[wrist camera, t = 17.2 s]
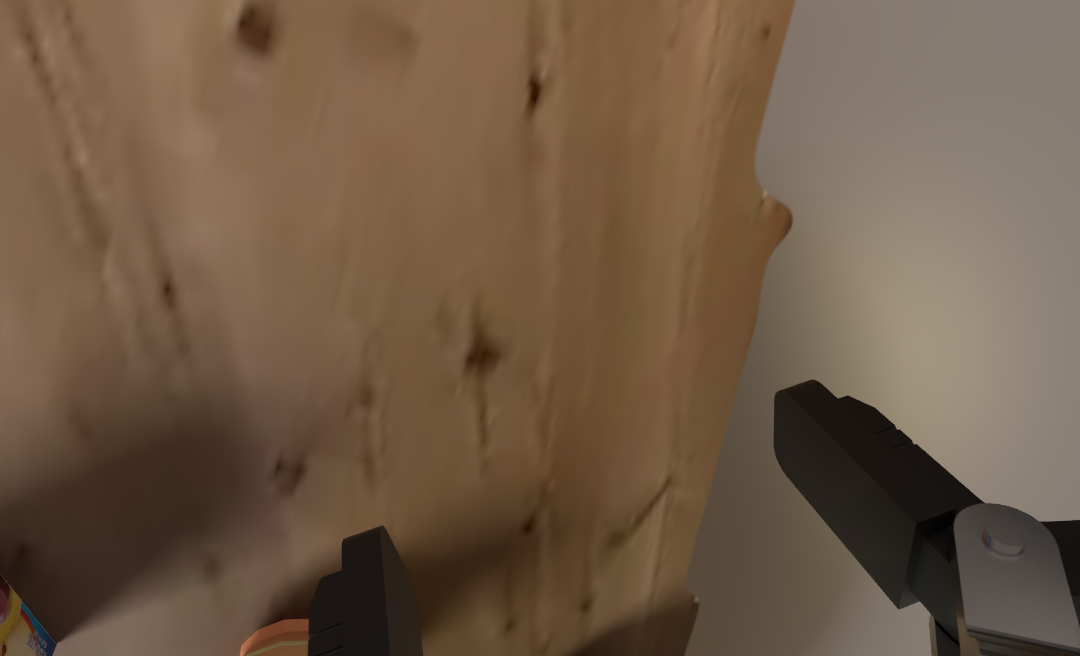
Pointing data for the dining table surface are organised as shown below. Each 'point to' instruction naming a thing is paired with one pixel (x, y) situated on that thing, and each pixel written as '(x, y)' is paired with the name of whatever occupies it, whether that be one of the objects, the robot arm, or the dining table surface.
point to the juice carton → (20, 627)
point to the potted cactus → (279, 639)
